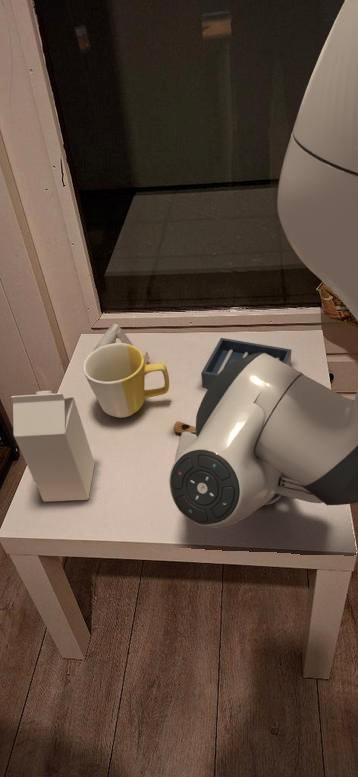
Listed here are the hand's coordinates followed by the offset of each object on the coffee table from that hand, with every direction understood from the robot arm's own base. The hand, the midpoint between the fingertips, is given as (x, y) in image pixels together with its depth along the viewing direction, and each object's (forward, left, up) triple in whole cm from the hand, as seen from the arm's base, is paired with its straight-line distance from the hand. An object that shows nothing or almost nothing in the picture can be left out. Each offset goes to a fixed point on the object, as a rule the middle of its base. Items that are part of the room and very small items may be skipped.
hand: (265, 464), depth 77 cm
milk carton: (+29, +9, -6) cm, 31 cm away
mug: (+27, -9, -5) cm, 29 cm away
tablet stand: (+33, -17, -5) cm, 37 cm away
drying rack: (+10, -23, -5) cm, 26 cm away
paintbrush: (+7, -5, -6) cm, 11 cm away
